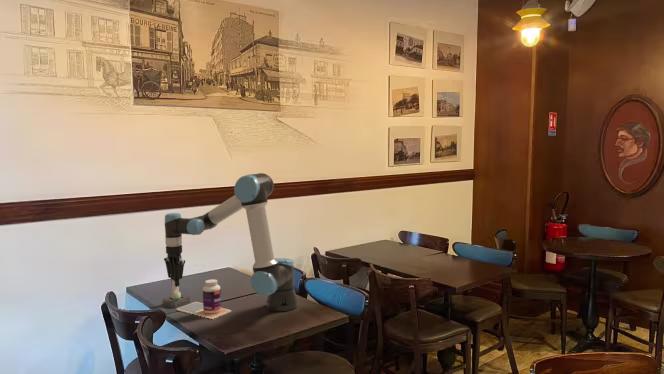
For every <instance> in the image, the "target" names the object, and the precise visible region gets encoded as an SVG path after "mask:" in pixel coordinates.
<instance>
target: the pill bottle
mask: <svg viewBox="0 0 664 374" xmlns="http://www.w3.org/2000/svg"><path fill="white" fill-rule="evenodd" d="M204 283H205V284H204V286H203V287H202V303H203V310H204V312H205V313H208V314H213V313H217V312H219V311H220V310H221V308H222V298H221V297H222V296H221V294H222V293H221V291H222V289H221V285H219V284H218V283H219V282H218V279H208V280H207V279H206V280H205V281H204Z"/></svg>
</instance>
